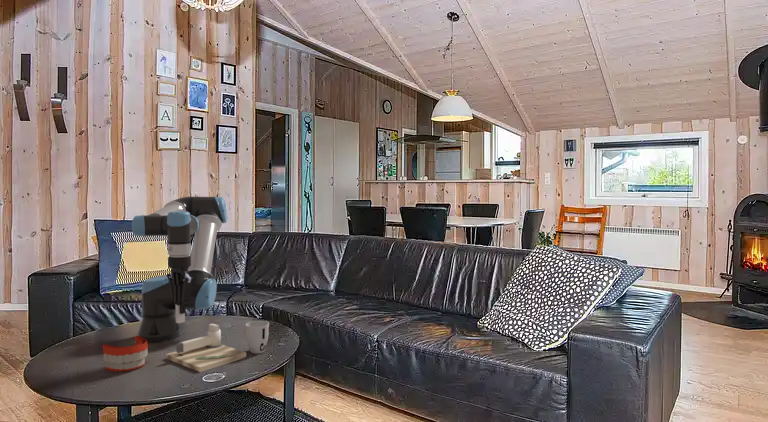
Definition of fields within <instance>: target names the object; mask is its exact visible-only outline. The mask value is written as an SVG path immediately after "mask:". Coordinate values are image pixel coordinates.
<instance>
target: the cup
mask: <svg viewBox="0 0 768 422" xmlns="http://www.w3.org/2000/svg"><path fill="white" fill-rule="evenodd" d="M245 330H246V331H245V332H246V333H245V334H246V340H247V345H248V348H249V351H250V353H252V354H257V355H258V354H261V353H264V352H265V351H266V349H267V347H268V346H267V345H268V340H269V333H270V332H269V331H270V321H266V320H253V321H249V322H246V323H245Z"/></svg>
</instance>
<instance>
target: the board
mask: <svg viewBox="0 0 768 422" xmlns="http://www.w3.org/2000/svg"><path fill="white" fill-rule="evenodd" d="M165 356H166V357H165V359H167V360H169V361H172V362H174V363H176V364H178V365H181V366H184V367H186V368H189V369H190V370H191V369H192V370H194V371H196V372H199V373H203V372H206V371H208V370H209V371H210V370H211V369H215V368H219V367H221V366H224V365H227V364H230V363H234V362H237V361H239V360H243V359H245V358H247V352H245V351H241V350H239V349H236V348H234V347H231V346H227V345H224V344H223V343H222V342H221V345H219V346H215V347H210V346H208V345H206V346H203V347H199V348H196V349H192V350H189V351H185V352H180V353H177V350H176V351H172V352H169V353H166V354H165Z"/></svg>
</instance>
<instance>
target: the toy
mask: <svg viewBox="0 0 768 422" xmlns="http://www.w3.org/2000/svg"><path fill="white" fill-rule="evenodd" d="M134 339H135V344H134V345H129V346H115V345H110V344H102V351H103V353H102V354H103V361H104V363H105V366H104V369H105V370H106V371H110V372H117V373H122V372H130V371H134V370H137V369H140V368H142V367H144V365H145V364H146V357H147V356H148V355H149V353H148V352H149V351H148V348H149V344H148V343H149V342H147V340H146V339H145V338H142V337H139V336H138V335H135V336H134Z"/></svg>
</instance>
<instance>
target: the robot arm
mask: <svg viewBox="0 0 768 422" xmlns="http://www.w3.org/2000/svg"><path fill="white" fill-rule="evenodd" d="M227 212H228V211H227V205H226V200H225V198H223V196H215V195H214V196H185V197H184V196H183V197H180V198H176V199H173V200H171V201H168V202H166V204H164V206H163V207H162V208H159V209H158V210H156V211H154V212H152V213H150V214H148V215H144V214H141V215H135V216H134V217H133V218H132V221H131V231H132V234H133V235H134V236H136V237H162V236H163V237H167V255H168V257H167V267H168V268H170V273H167V274H166V275H160V276H154V277H150V278H148V279H145V280H144V281H143V282H142V284H141V292H140V293H141V304H142V305H141V310H142V312H141V313H142V318H141V319H142V320H141V323H140V325H139V329H138V332H137V336H139V337H142V338H145V339H146V340H147V343H160V342H161V343H162V342H167V341H171V340H174V339H177V338H178V337H180V336H181V328H180V325H179V324H182V323H185V322H186V310H198V311H200V310H207V309H210V308H211V307H212V306H213V305H214V303H215V300H216V297H217V288H218V285H217V280H216V279H214V276H213V274H212V273H211V272H212V265H213V260H214V253H215V247H216V246H215V245H216V240H217V234H218V230H219V231H220V230H221V228H222V226H223V224H226V223H227V221H228V215H227V214H228V213H227ZM192 235H194V239H193V244H191V241H192V240H191V237H192ZM191 248H192V249H191Z"/></svg>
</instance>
